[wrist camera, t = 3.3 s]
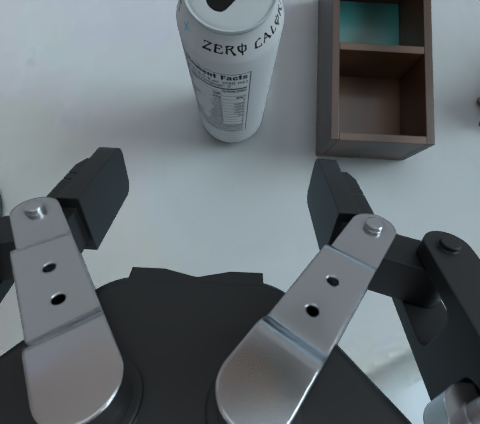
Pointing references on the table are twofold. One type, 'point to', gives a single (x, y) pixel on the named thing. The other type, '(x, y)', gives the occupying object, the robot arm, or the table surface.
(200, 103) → the energy drink can
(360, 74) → the wooden divided box
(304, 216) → the table surface
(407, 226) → the table surface
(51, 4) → the table surface
